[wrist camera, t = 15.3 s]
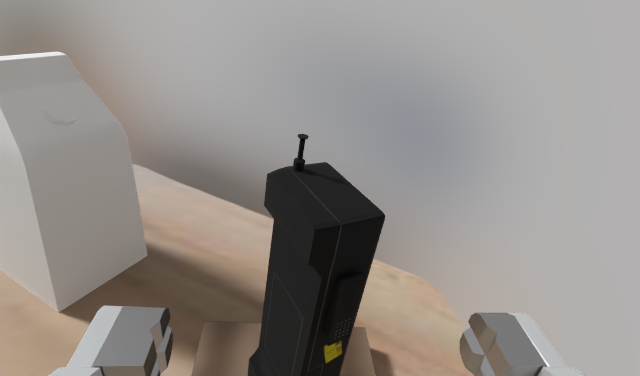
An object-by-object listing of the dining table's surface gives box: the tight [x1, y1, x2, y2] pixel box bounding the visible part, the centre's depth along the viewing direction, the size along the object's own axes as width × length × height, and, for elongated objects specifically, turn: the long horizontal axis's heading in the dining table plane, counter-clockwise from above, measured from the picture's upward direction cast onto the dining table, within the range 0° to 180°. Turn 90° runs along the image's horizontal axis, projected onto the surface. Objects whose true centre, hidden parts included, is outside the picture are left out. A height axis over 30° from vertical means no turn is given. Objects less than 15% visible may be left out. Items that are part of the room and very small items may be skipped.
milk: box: [0, 52, 148, 313], centre depth 41 cm, size 12×12×26 cm
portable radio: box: [248, 134, 385, 376], centre depth 28 cm, size 8×6×25 cm
